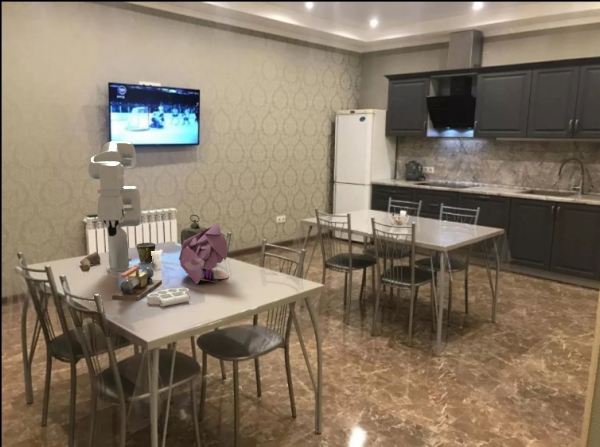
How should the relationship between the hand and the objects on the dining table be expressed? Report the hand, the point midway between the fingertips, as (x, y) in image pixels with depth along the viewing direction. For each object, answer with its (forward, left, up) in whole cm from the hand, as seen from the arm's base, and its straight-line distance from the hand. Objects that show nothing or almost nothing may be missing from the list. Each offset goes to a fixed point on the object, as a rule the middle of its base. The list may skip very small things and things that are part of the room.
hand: (112, 235), depth 211 cm
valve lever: (+1, +8, -16) cm, 18 cm away
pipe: (-39, -34, -27) cm, 58 cm away
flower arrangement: (-31, +32, -26) cm, 52 cm away
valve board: (-5, +8, -26) cm, 28 cm away
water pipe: (-5, +8, -25) cm, 26 cm away
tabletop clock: (-63, +14, -26) cm, 70 cm away
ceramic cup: (-49, -8, -26) cm, 57 cm away
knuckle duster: (+4, +26, -27) cm, 38 cm away
